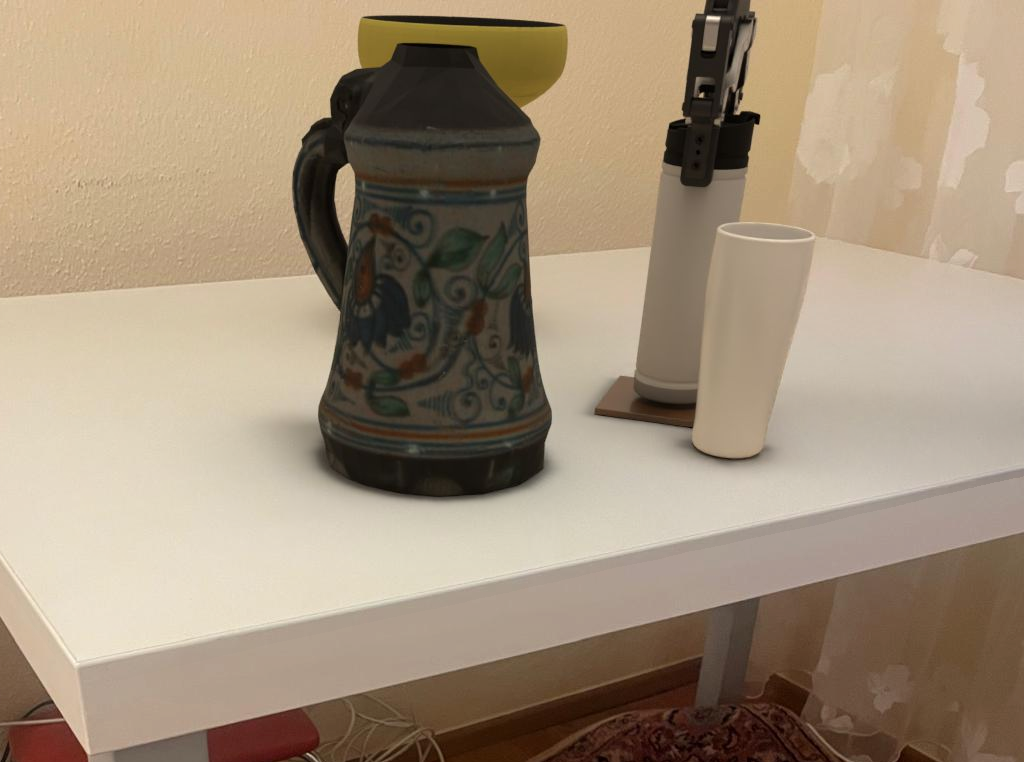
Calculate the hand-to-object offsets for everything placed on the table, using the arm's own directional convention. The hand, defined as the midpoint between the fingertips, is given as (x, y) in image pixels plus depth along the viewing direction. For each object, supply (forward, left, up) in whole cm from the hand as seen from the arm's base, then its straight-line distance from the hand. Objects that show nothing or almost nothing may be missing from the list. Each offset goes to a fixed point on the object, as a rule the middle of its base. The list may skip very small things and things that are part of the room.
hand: (702, 179), depth 88 cm
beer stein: (+15, +20, -17) cm, 30 cm away
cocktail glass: (+24, -16, -17) cm, 33 cm away
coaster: (0, 0, -17) cm, 17 cm away
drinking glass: (-6, +9, -17) cm, 20 cm away
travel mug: (0, 0, -16) cm, 16 cm away
